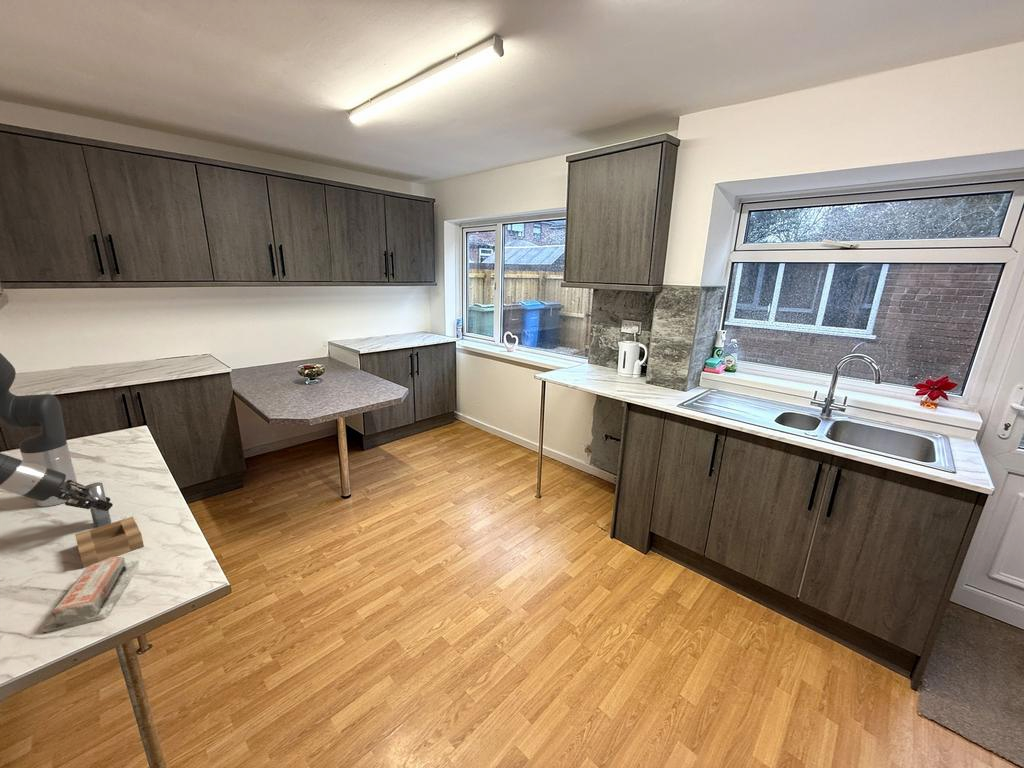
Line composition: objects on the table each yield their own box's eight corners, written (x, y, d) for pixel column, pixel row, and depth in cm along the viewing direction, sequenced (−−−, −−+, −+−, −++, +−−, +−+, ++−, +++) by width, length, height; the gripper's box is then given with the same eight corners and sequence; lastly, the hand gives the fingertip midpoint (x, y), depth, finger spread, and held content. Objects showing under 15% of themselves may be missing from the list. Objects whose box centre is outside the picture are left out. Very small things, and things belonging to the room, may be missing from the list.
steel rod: (93, 524, 114) (84, 485, 111) (110, 519, 117) (101, 481, 114) (95, 529, 112) (85, 489, 109) (112, 523, 115) (103, 485, 112)
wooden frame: (78, 548, 104) (74, 534, 103) (135, 529, 113) (132, 516, 112) (83, 568, 98) (79, 553, 97) (144, 546, 106) (141, 533, 105)
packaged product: (104, 600, 83) (35, 616, 79) (109, 619, 84) (42, 636, 80) (137, 548, 99) (81, 558, 94) (141, 565, 100) (86, 576, 96)
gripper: (47, 476, 99) (124, 501, 112) (43, 459, 108) (115, 484, 120) (19, 504, 97) (101, 527, 109) (18, 484, 105) (94, 507, 118)
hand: (108, 504), depth 115 cm, fingers closed on steel rod, 3 cm apart
